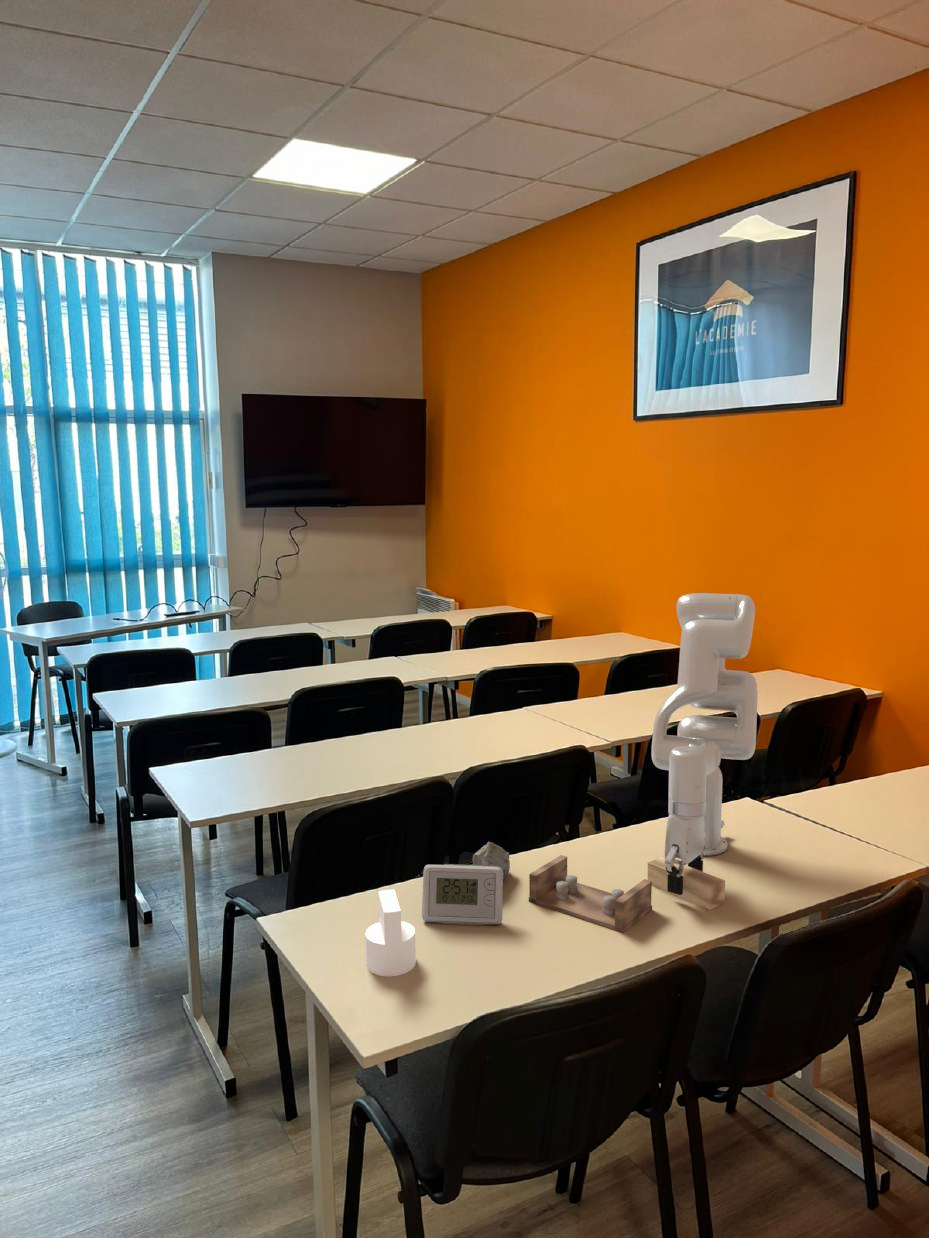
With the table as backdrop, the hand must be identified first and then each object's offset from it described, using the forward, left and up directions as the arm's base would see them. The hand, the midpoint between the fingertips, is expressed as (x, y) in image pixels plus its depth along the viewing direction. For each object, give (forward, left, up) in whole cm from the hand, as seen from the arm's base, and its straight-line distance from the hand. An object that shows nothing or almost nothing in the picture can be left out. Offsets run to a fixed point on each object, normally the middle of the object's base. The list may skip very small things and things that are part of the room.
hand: (685, 884), depth 188 cm
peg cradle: (+17, -13, -2) cm, 21 cm away
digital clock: (+37, -30, -2) cm, 48 cm away
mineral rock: (+21, -35, -2) cm, 41 cm away
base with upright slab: (+58, -30, -2) cm, 65 cm away
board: (0, 0, -2) cm, 2 cm away
